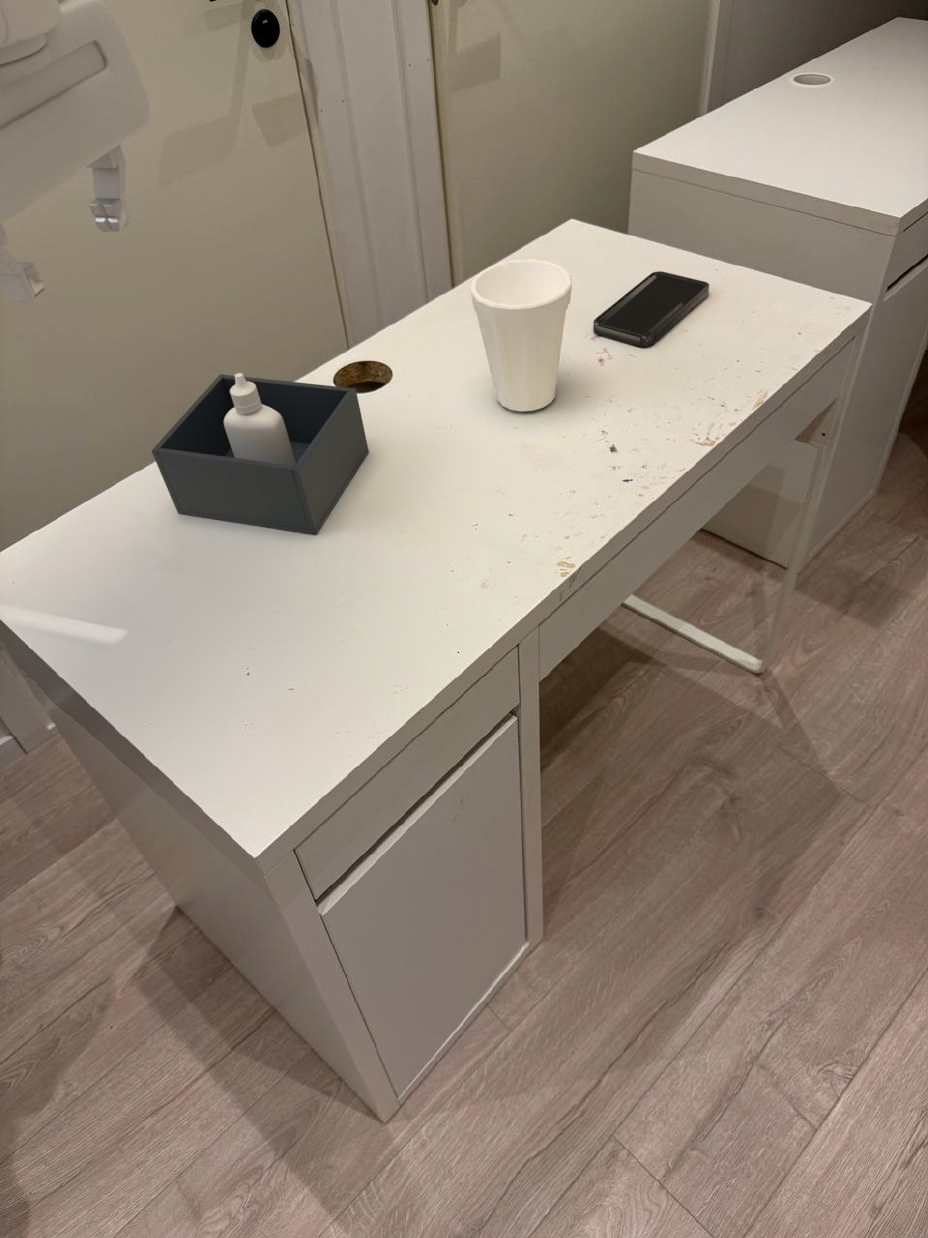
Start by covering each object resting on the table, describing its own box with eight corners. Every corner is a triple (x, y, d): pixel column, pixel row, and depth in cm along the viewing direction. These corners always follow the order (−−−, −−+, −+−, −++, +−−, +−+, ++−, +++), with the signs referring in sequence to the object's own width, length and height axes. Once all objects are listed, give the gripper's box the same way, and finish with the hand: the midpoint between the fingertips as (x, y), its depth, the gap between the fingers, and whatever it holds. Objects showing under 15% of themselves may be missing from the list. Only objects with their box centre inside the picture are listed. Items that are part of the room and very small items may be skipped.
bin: (177, 513, 87) (150, 450, 82) (240, 435, 96) (220, 373, 90) (316, 535, 83) (297, 470, 78) (369, 452, 91) (355, 387, 86)
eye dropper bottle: (272, 459, 91) (240, 354, 82) (306, 480, 88) (276, 374, 79) (238, 480, 89) (201, 375, 80) (271, 502, 86) (236, 396, 77)
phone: (589, 323, 103) (655, 269, 110) (589, 332, 103) (655, 278, 111) (649, 340, 99) (713, 283, 106) (648, 349, 100) (712, 292, 107)
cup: (590, 387, 96) (591, 270, 86) (540, 435, 91) (536, 316, 81) (513, 364, 100) (507, 251, 91) (461, 408, 95) (449, 293, 86)
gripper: (37, -50, 53) (124, 190, 63) (-242, 58, 40) (-77, 338, 50) (126, -54, 51) (201, 193, 61) (-136, 57, 38) (13, 347, 48)
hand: (74, 260), depth 55 cm, fingers open, 8 cm apart
